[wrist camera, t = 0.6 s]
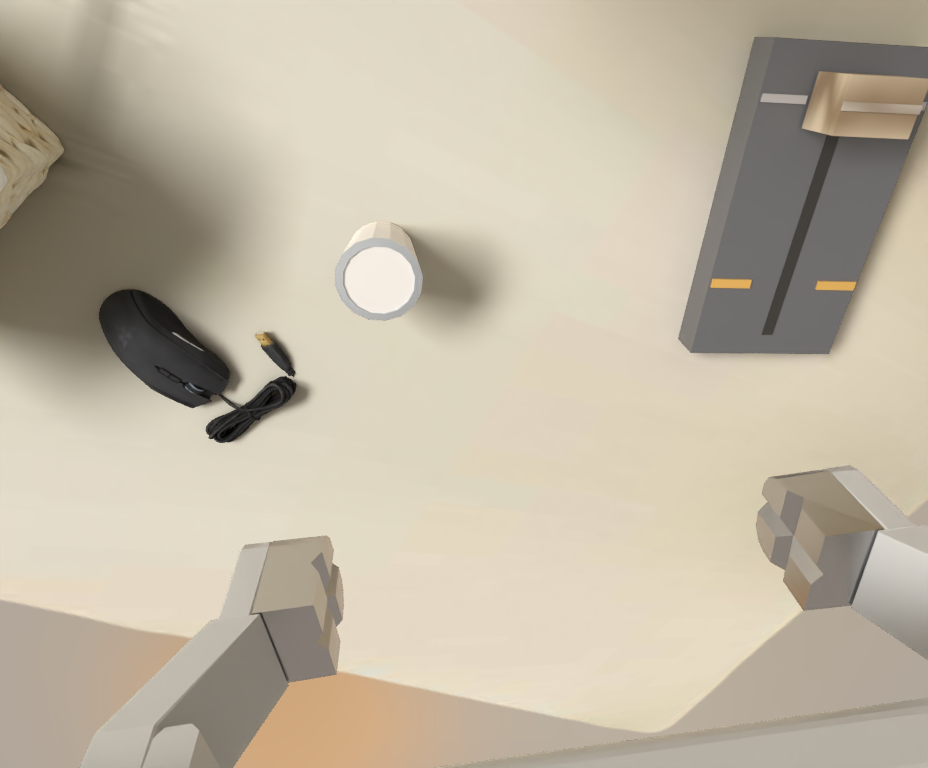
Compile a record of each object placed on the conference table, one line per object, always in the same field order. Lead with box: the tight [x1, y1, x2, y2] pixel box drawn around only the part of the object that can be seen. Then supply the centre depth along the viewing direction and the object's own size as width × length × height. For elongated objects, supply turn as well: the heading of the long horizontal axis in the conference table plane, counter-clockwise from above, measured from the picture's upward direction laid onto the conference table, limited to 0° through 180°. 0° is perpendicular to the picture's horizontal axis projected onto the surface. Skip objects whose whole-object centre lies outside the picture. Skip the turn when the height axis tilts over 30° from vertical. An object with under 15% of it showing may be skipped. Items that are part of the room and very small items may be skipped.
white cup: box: [335, 221, 423, 321], centre depth 50 cm, size 7×7×7 cm
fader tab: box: [802, 71, 928, 139], centre depth 45 cm, size 4×6×4 cm, turn 87°
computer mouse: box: [99, 290, 296, 443], centre depth 55 cm, size 12×17×4 cm
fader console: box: [678, 37, 928, 354], centre depth 53 cm, size 26×14×3 cm, turn 177°
